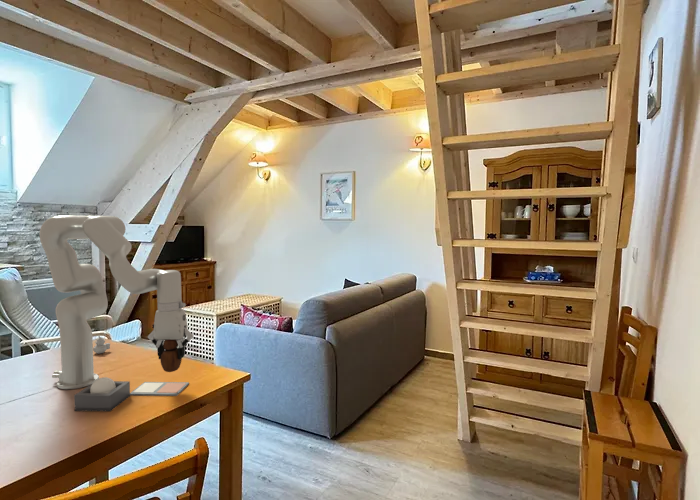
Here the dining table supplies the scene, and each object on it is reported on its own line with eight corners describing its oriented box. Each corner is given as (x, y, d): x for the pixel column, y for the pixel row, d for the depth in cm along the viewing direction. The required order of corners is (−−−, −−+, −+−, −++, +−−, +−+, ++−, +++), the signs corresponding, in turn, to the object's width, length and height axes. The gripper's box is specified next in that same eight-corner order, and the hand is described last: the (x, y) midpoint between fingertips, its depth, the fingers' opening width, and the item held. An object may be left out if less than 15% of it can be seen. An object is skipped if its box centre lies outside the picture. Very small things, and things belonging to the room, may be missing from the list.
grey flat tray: (129, 395, 136) (129, 393, 136) (144, 383, 146) (144, 381, 146) (176, 395, 136) (176, 393, 136) (189, 384, 146) (188, 382, 146)
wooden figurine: (173, 374, 137) (171, 330, 136) (157, 373, 138) (156, 329, 137) (185, 367, 143) (183, 325, 142) (170, 366, 144) (169, 324, 143)
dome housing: (74, 410, 125) (74, 395, 125) (97, 395, 136) (96, 381, 136) (110, 411, 125) (109, 395, 124) (130, 396, 136) (129, 381, 135)
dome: (85, 404, 127) (84, 382, 126) (99, 394, 134) (98, 373, 133) (107, 404, 127) (106, 382, 126) (120, 394, 134) (119, 374, 133)
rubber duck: (92, 352, 179) (91, 335, 179) (109, 349, 184) (108, 332, 183) (94, 355, 175) (93, 337, 175) (111, 352, 180) (111, 334, 179)
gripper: (199, 304, 143) (200, 354, 144) (150, 304, 143) (151, 354, 144) (190, 308, 135) (191, 361, 136) (138, 308, 135) (140, 361, 137)
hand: (171, 357), depth 140 cm, fingers closed on wooden figurine, 5 cm apart
